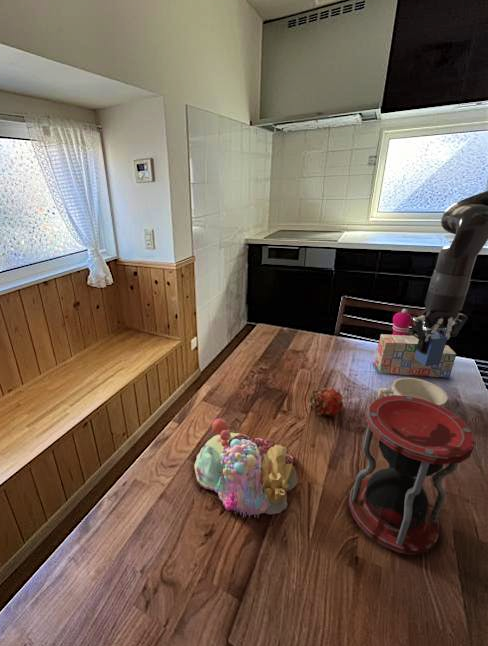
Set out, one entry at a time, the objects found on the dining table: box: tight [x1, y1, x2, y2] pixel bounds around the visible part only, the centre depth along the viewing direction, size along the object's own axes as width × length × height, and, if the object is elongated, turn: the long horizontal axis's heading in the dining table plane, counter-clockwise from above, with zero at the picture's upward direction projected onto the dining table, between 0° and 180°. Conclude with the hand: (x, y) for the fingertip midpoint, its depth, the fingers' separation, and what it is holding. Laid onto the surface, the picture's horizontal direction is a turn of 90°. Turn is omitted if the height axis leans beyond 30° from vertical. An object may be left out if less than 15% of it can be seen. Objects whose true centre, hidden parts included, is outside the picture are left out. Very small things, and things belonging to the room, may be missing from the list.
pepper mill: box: [391, 308, 413, 335], centre depth 121 cm, size 7×7×20 cm
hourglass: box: [348, 395, 476, 556], centre depth 65 cm, size 16×16×25 cm
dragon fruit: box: [309, 387, 344, 418], centre depth 99 cm, size 8×8×12 cm
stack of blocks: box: [374, 333, 457, 379], centre depth 115 cm, size 21×6×12 cm, turn 76°
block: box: [414, 331, 448, 366], centre depth 88 cm, size 4×4×8 cm
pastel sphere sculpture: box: [193, 418, 299, 519], centre depth 80 cm, size 25×24×9 cm
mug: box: [376, 376, 449, 409], centre depth 100 cm, size 17×14×6 cm
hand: (429, 351), depth 88 cm, fingers closed on block, 4 cm apart
